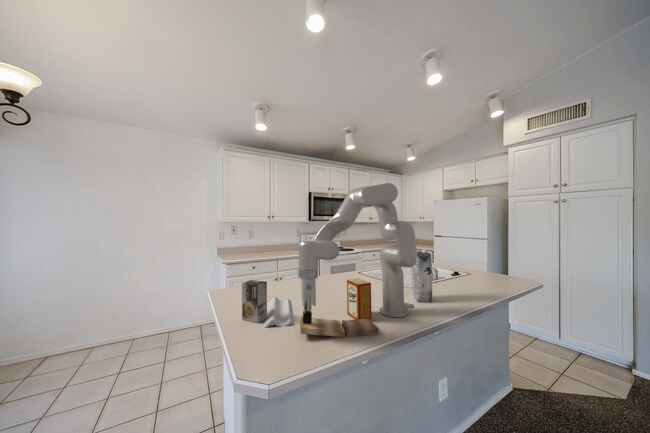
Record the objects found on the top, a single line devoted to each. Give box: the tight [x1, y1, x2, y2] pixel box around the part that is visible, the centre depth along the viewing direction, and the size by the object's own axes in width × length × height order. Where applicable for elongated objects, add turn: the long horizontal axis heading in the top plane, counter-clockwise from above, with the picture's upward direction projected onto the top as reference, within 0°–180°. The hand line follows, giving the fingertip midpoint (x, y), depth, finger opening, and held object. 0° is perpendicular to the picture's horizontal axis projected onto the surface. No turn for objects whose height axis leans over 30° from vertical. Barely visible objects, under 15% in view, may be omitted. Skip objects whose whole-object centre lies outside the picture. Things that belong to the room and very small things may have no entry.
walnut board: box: [341, 319, 379, 338], centre depth 93 cm, size 12×10×2 cm
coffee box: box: [241, 279, 268, 324], centre depth 105 cm, size 9×6×16 cm
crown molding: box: [263, 296, 294, 329], centre depth 113 cm, size 31×12×4 cm, turn 11°
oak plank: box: [299, 316, 346, 338], centre depth 91 cm, size 16×10×2 cm, turn 98°
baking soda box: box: [346, 278, 373, 320], centre depth 107 cm, size 10×6×16 cm
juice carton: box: [411, 249, 433, 303], centre depth 129 cm, size 9×10×27 cm
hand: (307, 322), depth 90 cm, fingers closed
